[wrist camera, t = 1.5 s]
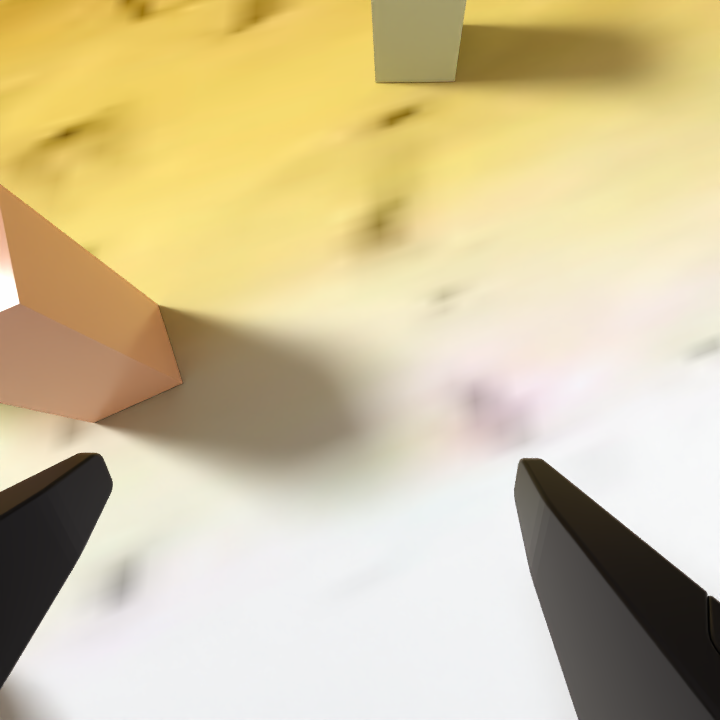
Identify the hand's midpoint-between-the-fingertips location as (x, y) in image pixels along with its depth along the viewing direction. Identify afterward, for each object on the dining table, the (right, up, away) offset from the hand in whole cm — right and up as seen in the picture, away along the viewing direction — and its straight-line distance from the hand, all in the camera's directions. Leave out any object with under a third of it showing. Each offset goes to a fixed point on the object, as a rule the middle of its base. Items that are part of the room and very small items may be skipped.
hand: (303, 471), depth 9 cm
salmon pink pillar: (-13, +2, +16) cm, 20 cm away
